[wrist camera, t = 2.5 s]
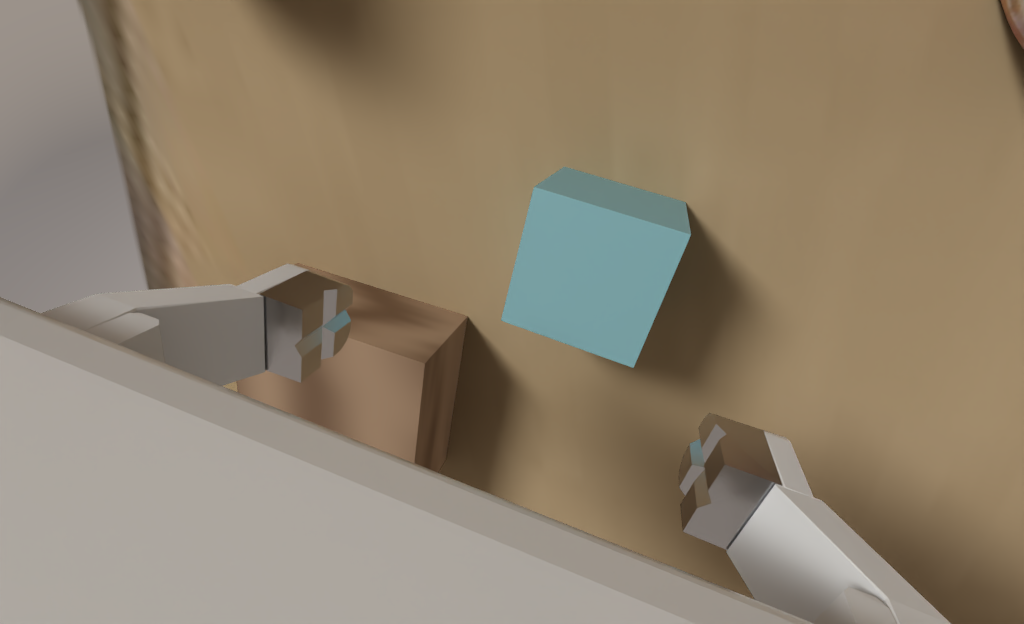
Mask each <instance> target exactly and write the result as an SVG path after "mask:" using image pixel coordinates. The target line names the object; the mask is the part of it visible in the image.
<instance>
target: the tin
mask: <svg viewBox="0 0 1024 624" xmlns="http://www.w3.org/2000/svg"><path fill="white" fill-rule="evenodd" d="M1001 4H1002V7H1003V10H1004V13H1005V16H1006V18H1007V21H1008V23H1009V25H1010V27H1011V29H1012V31H1013V33H1014V35H1015V37H1016V39H1017V40H1018V42H1019V43H1020V45H1021V46H1022V48H1023V50H1024V0H1001Z"/></svg>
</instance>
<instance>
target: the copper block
mask: <svg viewBox="0 0 1024 624" xmlns="http://www.w3.org/2000/svg"><path fill="white" fill-rule="evenodd" d="M295 265H296V266H299V267H302V268H305V269H308V270H310V271H313V272H315V273H318V274H321V275H323V276H326V277H329V278H331V279H334V280H337V281H339V282H342V283H345V284H347V285H350V287H351V289H352V290H353V303H352V305H351V306H350V307H349V308H347V309H346V311H347V313H348V315H349V317H350V319H351V328H350V333H349V336H348V339H347V341H346V343H345V344H344V346H343V347H342V349H341V350H340V351H339V352H338V353H337V354H336V355H335V356H333V357H330V358H325V359H321V367H320V368H319V369H317V370H316V371H315V372H314V373H312V374H311V375H310V376H309V377H307V378H306V379H305V380H304V381H302V382H301V383H300V382H297V381H294V380H292V379H289V378H286V377H283V376H280V375H278V374H275V373H272V372H269V371H266V370H265V372H264V373H261V374H257V375H254V376H251V377H248V378H245V379H242V380H238V381H237V389H238V393H240V394H243V395H245V396H248V397H250V398H253V399H255V400H258V401H260V402H263V403H265V404H268V405H270V406H273V407H275V408H278V409H280V410H283V411H285V412H288V413H290V414H293V415H295V416H298V417H300V418H303V419H305V420H308V421H310V422H313V423H315V424H318V425H320V426H323V427H325V428H328V429H330V430H333V431H335V432H338V433H340V434H343V435H345V436H347V437H350V438H352V439H355V440H357V441H360V442H362V443H365V444H367V445H370V446H372V447H375V448H377V449H380V450H382V451H385V452H387V453H390V454H392V455H395V456H397V457H400V458H402V459H405V460H407V461H410V462H412V463H415V464H417V465H420V466H422V467H425V468H427V469H430V470H432V471H435V472H437V473H438V472H439V470H440V469H441V467H442V465H443V464H444V462H445V460H446V457H447V450H448V444H449V437H450V431H451V424H452V417H453V411H454V404H455V397H456V391H457V384H458V377H459V371H460V364H461V357H462V351H463V344H464V337H465V331H466V324H467V318H468V316H465V315H462V314H459V313H455V312H452V311H449V310H446V309H443V308H439V307H436V306H433V305H430V304H427V303H424V302H420V301H417V300H414V299H411V298H408V297H404V296H401V295H398V294H395V293H392V292H388V291H385V290H382V289H379V288H376V287H372V286H369V285H366V284H363V283H360V282H357V281H353V280H350V279H347V278H344V277H341V276H337V275H334V274H331V273H328V272H325V271H321V270H318V269H315V268H312V267H309V266H305V265H302V264H299V263H297V264H295Z"/></svg>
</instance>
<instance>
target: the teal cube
mask: <svg viewBox="0 0 1024 624" xmlns="http://www.w3.org/2000/svg"><path fill="white" fill-rule="evenodd" d="M690 236H691V231H690V225H689V219H688V213H687V207H686V202H683V201H680V200H676V199H673V198H669V197H666V196H662V195H659V194H656V193H652V192H649V191H645V190H642V189H639V188H635V187H632V186H628V185H625V184H622V183H618V182H615V181H611V180H608V179H605V178H601V177H598V176H594V175H591V174H588V173H584V172H581V171H577V170H574V169H571V168H567V167H563V168H562V169H560V170H559V171H557V172H556V173H554V174H553V175H551V176H550V177H548V178H547V179H545V180H544V181H542V182H541V183H539V184H538V185H536V186H535V187H534V189H533V193H532V197H531V201H530V205H529V210H528V214H527V218H526V222H525V226H524V230H523V234H522V238H521V242H520V246H519V250H518V254H517V258H516V262H515V266H514V270H513V274H512V278H511V282H510V286H509V290H508V294H507V298H506V302H505V306H504V310H503V314H502V318H501V321H504V322H507V323H509V324H512V325H515V326H518V327H521V328H523V329H526V330H529V331H532V332H534V333H537V334H540V335H543V336H546V337H548V338H551V339H554V340H557V341H560V342H562V343H565V344H568V345H571V346H573V347H576V348H579V349H582V350H585V351H587V352H590V353H593V354H596V355H599V356H601V357H604V358H607V359H610V360H612V361H615V362H618V363H621V364H624V365H626V366H629V367H632V368H634V365H635V363H636V361H637V359H638V356H639V354H640V352H641V349H642V347H643V345H644V342H645V340H646V338H647V335H648V333H649V331H650V328H651V326H652V324H653V322H654V319H655V317H656V315H657V312H658V310H659V308H660V305H661V303H662V301H663V298H664V296H665V294H666V292H667V289H668V287H669V285H670V282H671V280H672V278H673V275H674V273H675V271H676V268H677V266H678V264H679V262H680V259H681V257H682V255H683V252H684V250H685V248H686V245H687V243H688V241H689V238H690Z"/></svg>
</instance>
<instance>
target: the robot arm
mask: <svg viewBox="0 0 1024 624" xmlns="http://www.w3.org/2000/svg"><path fill="white" fill-rule="evenodd" d="M352 303H353V290H352V289H351V287H350V285H347V284H345V283H342V282H339V281H337V280H334V279H331V278H329V277H326V276H323V275H321V274H318V273H315V272H313V271H310V270H308V269H305V268H302V267H299V266H296V265H292V264H285V265H283V266H281V267H278V268H276V269H274V270H272V271H269V272H267V273H265V274H263V275H260V276H258V277H256V278H254V279H251V280H249V281H247V282H245V283H242V284H240V285H238V286H234V285H231V284H224V285H210V286H197V287H183V288H169V289H155V290H142V291H128V292H114V293H100V294H95V295H92V296H89V297H86V298H83V299H80V300H78V301H75V302H72V303H69V304H66V305H63V306H60V307H57V308H54V309H52V310H49V311H46V312H43V313H38V312H36V311H33V310H31V309H28V308H26V307H23V306H21V305H18V304H16V303H13V302H11V301H8V300H6V299H3V298H1V297H0V624H951V623H950V622H949V621H948V620H947V619H946V618H945V617H944V616H942V615H941V614H940V613H939V612H938V611H937V610H936V609H935V608H934V607H933V606H932V605H931V604H930V603H929V602H928V601H927V600H926V599H925V598H924V597H923V596H922V595H920V594H919V593H918V592H917V591H916V590H915V589H914V588H913V587H912V586H911V585H910V584H909V583H908V582H907V581H906V580H905V579H904V578H903V577H902V576H901V575H900V574H898V573H897V572H896V571H895V570H894V569H893V568H892V567H891V566H890V565H889V564H888V563H887V562H886V561H885V560H884V559H883V558H882V557H881V556H880V555H879V554H878V553H876V552H875V551H874V550H873V549H872V548H871V547H870V546H869V545H868V544H867V543H866V542H865V541H864V540H863V539H862V538H861V537H860V536H859V535H858V534H857V533H856V532H854V531H853V530H852V529H851V528H850V527H849V526H848V525H847V524H846V523H845V522H844V521H843V520H842V519H841V518H840V517H839V516H838V515H837V514H836V513H835V512H834V511H832V510H831V509H830V508H829V507H828V506H827V505H826V504H825V503H824V502H823V501H821V500H819V499H816V498H814V497H813V495H812V492H811V490H810V487H809V485H808V483H807V480H806V478H805V475H804V473H803V471H802V468H801V466H800V464H799V461H798V459H797V456H796V454H795V452H794V449H793V447H792V444H791V442H790V441H789V440H788V439H787V438H786V437H783V436H780V435H777V434H774V433H770V432H767V431H764V430H761V429H758V428H755V427H752V426H749V425H745V424H742V423H739V422H736V421H733V420H730V419H727V418H724V417H721V416H718V415H715V414H711V413H709V414H708V415H707V416H706V417H705V418H704V419H703V421H702V423H701V424H700V426H699V434H700V439H699V440H697V441H694V442H692V443H690V444H689V446H688V448H687V450H686V452H685V454H684V456H683V459H682V462H681V465H680V470H679V488H680V489H681V491H682V492H683V493H684V495H685V497H684V499H683V501H682V503H681V504H680V505H681V517H682V528H683V532H685V533H687V534H690V535H692V536H694V537H697V538H699V539H702V540H704V541H706V542H709V543H711V544H714V545H716V546H718V547H721V548H723V549H725V550H727V551H726V552H727V554H728V556H729V557H730V559H731V561H732V562H733V564H734V566H735V567H736V569H737V571H738V572H739V574H740V576H741V577H742V579H743V581H744V582H745V584H746V586H747V587H748V589H749V591H750V592H751V594H752V595H753V597H754V599H755V600H754V599H751V598H749V597H747V596H744V595H742V594H739V593H737V592H734V591H732V590H729V589H727V588H724V587H722V586H719V585H717V584H714V583H712V582H709V581H707V580H704V579H702V578H699V577H697V576H694V575H692V574H689V573H687V572H684V571H682V570H679V569H677V568H674V567H672V566H669V565H667V564H664V563H662V562H659V561H657V560H654V559H652V558H649V557H647V556H644V555H642V554H639V553H637V552H634V551H632V550H629V549H627V548H624V547H622V546H619V545H617V544H614V543H612V542H609V541H607V540H604V539H602V538H599V537H597V536H594V535H592V534H589V533H587V532H584V531H582V530H579V529H577V528H574V527H572V526H569V525H567V524H564V523H562V522H559V521H557V520H554V519H552V518H549V517H547V516H544V515H542V514H539V513H537V512H534V511H532V510H529V509H527V508H524V507H522V506H519V505H517V504H514V503H512V502H509V501H507V500H504V499H502V498H500V497H497V496H495V495H492V494H490V493H487V492H485V491H482V490H480V489H477V488H475V487H472V486H470V485H467V484H465V483H462V482H460V481H457V480H455V479H452V478H450V477H447V476H445V475H442V474H440V473H437V472H435V471H432V470H430V469H427V468H425V467H422V466H420V465H417V464H415V463H412V462H410V461H407V460H405V459H402V458H400V457H397V456H395V455H392V454H390V453H387V452H385V451H382V450H380V449H377V448H375V447H372V446H370V445H367V444H365V443H362V442H360V441H357V440H355V439H352V438H350V437H347V436H345V435H343V434H340V433H338V432H335V431H333V430H330V429H328V428H325V427H323V426H320V425H318V424H315V423H313V422H310V421H308V420H305V419H303V418H300V417H298V416H295V415H293V414H290V413H288V412H285V411H283V410H280V409H278V408H275V407H273V406H270V405H268V404H265V403H263V402H260V401H258V400H255V399H253V398H250V397H248V396H245V395H243V394H240V393H238V392H235V391H233V390H230V389H228V388H225V387H223V386H222V385H226V384H229V383H232V382H235V381H238V380H242V379H245V378H248V377H251V376H254V375H257V374H261V373H264V372H265V370H266V371H269V372H272V373H275V374H278V375H280V376H283V377H286V378H289V379H292V380H294V381H297V382H300V383H301V382H302V381H304V380H305V379H306V378H307V377H309V376H310V375H311V374H312V373H314V372H315V371H316V370H317V369H319V368H320V367H321V359H325V358H330V357H333V356H335V355H336V354H337V353H338V352H339V351H340V350H341V349H342V347H343V346H344V344H345V343H346V341H347V339H348V336H349V333H350V328H351V319H350V317H349V315H348V313H347V311H346V309H347V308H349V307H350V306H351V305H352Z"/></svg>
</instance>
